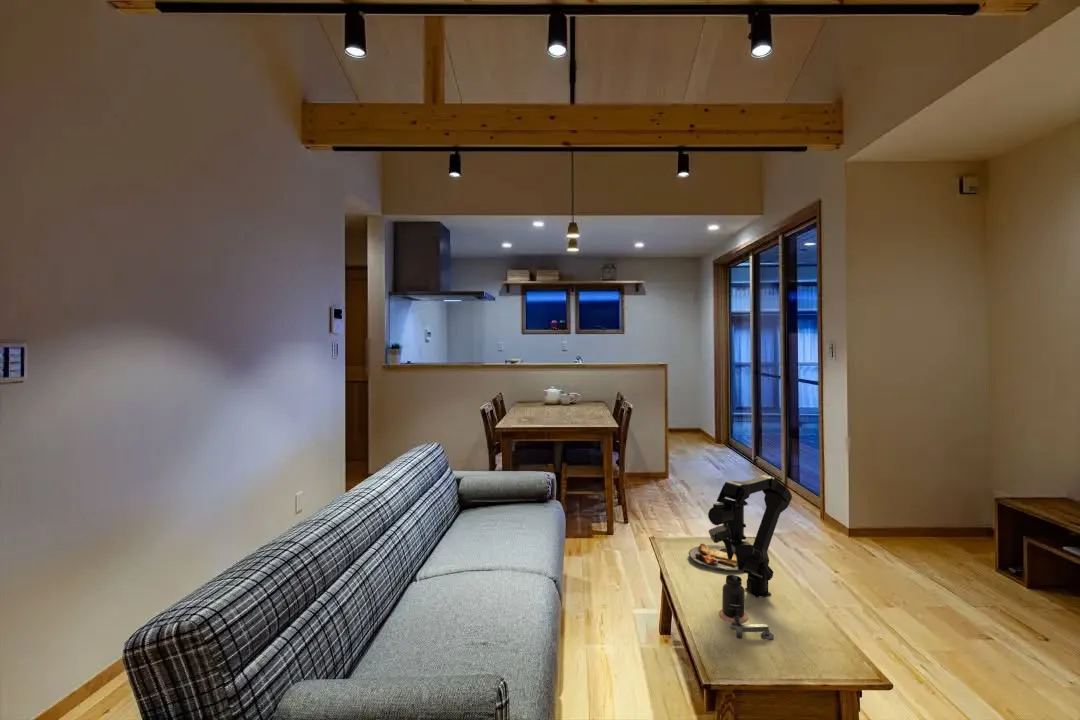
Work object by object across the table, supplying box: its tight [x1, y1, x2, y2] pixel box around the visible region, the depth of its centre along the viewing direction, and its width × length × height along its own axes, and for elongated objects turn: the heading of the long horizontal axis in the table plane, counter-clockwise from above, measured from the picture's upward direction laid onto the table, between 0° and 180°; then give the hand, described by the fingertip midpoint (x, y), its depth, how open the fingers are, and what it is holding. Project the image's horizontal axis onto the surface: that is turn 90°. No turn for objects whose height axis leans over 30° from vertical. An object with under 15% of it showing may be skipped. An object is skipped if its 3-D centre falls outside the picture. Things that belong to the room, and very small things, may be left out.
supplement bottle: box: [721, 574, 746, 618], centre depth 181 cm, size 7×7×12 cm
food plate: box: [688, 543, 739, 571], centre depth 226 cm, size 25×23×4 cm
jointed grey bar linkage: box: [730, 616, 775, 641], centre depth 171 cm, size 11×11×4 cm
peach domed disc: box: [718, 608, 749, 624], centre depth 181 cm, size 9×9×1 cm
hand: (734, 564), depth 190 cm, fingers open, 9 cm apart
